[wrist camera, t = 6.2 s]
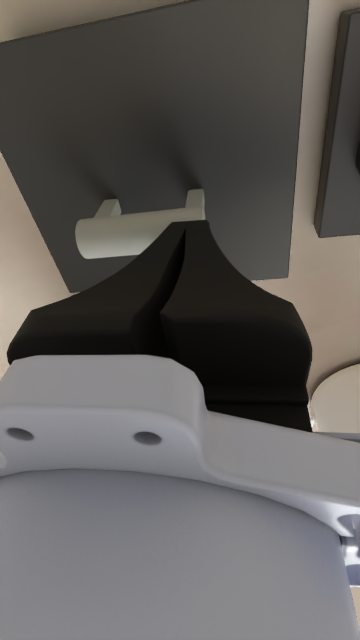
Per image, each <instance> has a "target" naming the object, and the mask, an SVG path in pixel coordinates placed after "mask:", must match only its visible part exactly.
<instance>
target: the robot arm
mask: <svg viewBox="0 0 360 640" xmlns="http://www.w3.org/2000/svg"><path fill="white" fill-rule="evenodd" d="M7 358H8V363H9V364H10V367H9V368H8V370H7V371H6V373H5V374H4V376H3V378H2V379H1V381H0V640H360V630H359V626H358V621H357V616H356V612H355V607H354V602H353V598H352V593H351V589H350V587H360V433H338V432H312V427H311V422H310V417H309V412H308V408H307V405H308V402H309V397H308V393H307V388H306V383H307V379H308V375H309V370H310V366H311V362H312V346H311V342H310V339H309V336H308V333H307V331H306V329H305V326H304V324H303V322H302V320H301V318H300V316H299V314H298V312H297V311H296V309H295V307H294V305H293V304H292V303H291V302H288V301H286V300H284V299H282V298H279V297H277V296H275V295H273V294H270V293H268V292H267V291H265V290H263V289H262V288H260V287H258V286H257V285H255V284H254V283H252V282H251V281H250V280H248V279H247V278H246V277H244V276H243V275H242V274H241V273H240V272H239V271H238V270H237V269H236V268H235V267H234V266H233V265H232V264H231V263H230V261H229V260H228V259H227V258H226V256H225V255H224V254H223V252H222V251H221V249H220V248H219V246H218V244H217V242H216V241H215V239H214V237H213V234H212V232H211V229H210V222H208V221H207V220H194V221H179V222H171V223H170V224H169V225H168V226H167V227H166V229H165V230H164V231H163V232H162V233H161V234H160V235H159V236H158V237H157V238H156V239H155V240H154V241H153V242H152V243H151V244H150V245H149V246H148V247H147V248H146V249H145V250H144V251H143V252H142V253H141V254H139V255H138V256H137V257H136V258H135V259H134V260H133V261H131V262H130V263H129V264H128V265H126V266H125V267H123V268H122V269H121V270H119V271H118V272H116V273H115V274H113V275H112V276H110V277H108V278H106V279H105V280H103V281H101V282H99V283H98V284H96V285H94V286H92V287H90V288H88V289H86V290H84V291H82V292H80V293H78V294H75V295H73V296H71V297H68V298H66V299H63V300H61V301H58V302H55V303H52V304H49V305H46V306H43V307H40V308H37V309H34V310H31V312H30V313H29V314H28V316H27V318H26V319H25V321H24V322H23V324H22V326H21V327H20V329H19V330H18V332H17V334H16V335H15V337H14V338H13V340H12V342H11V343H10V345H9V348H8V351H7Z"/></svg>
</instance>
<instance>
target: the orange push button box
mask: <svg viewBox="0 0 360 640" xmlns="http://www.w3.org/2000/svg"><path fill="white" fill-rule="evenodd" d="M314 227H315V230H316V232H317V235H318V237H319V238H326V237H337V236H349V235H360V8H359V9H354V10H349V11H344V12H342V13H341V15H340V23H339V31H338V39H337V47H336V55H335V63H334V71H333V79H332V87H331V95H330V103H329V111H328V119H327V127H326V135H325V143H324V150H323V158H322V166H321V174H320V182H319V190H318V198H317V206H316V214H315V222H314Z"/></svg>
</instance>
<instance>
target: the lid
mask: <svg viewBox="0 0 360 640" xmlns="http://www.w3.org/2000/svg"><path fill="white" fill-rule="evenodd" d="M308 10H309V0H189V1H185V2H180V3H176V4H171V5H167V6H162V7H158V8H153V9H149V10H144V11H140V12H135V13H131V14H126V15H122V16H117V17H113V18H108V19H104V20H99V21H95V22H90V23H86V24H81V25H77V26H72V27H68V28H63V29H59V30H54V31H50V32H45V33H41V34H36V35H32V36H27V37H23V38H18V39H14V40H9V41H5V42H0V151H1V153H2V155H3V157H4V159H5V161H6V163H7V165H8V167H9V169H10V171H11V173H12V175H13V177H14V179H15V181H16V183H17V185H18V187H19V189H20V192H21V194H22V196H23V198H24V200H25V202H26V204H27V206H28V208H29V210H30V212H31V214H32V216H33V218H34V220H35V222H36V224H37V226H38V228H39V230H40V232H41V235H42V237H43V239H44V241H45V243H46V245H47V247H48V249H49V251H50V253H51V255H52V257H53V259H54V261H55V263H56V265H57V267H58V269H59V271H60V273H61V275H62V277H63V280H64V282H65V284H66V286H67V288H68V290H69V292H70V293H75V292H82V291H84V290H86V289H88V288H90V287H92V286H94V285H96V284H98V283H99V282H101V281H103V280H105V279H106V278H108V277H110V276H112V275H113V274H115V273H116V272H118V271H119V270H121V269H122V268H123V267H125V266H126V265H128V264H129V263H130V262H131V261H133V260H134V259H135V258H136V257H137V256H138V255H139V254H141V253H142V252H143V251H144V250H145V249H146V248H147V247H148V246H149V245H150V244H151V243H152V242H153V241H154V240H155V239H156V238H157V237H158V236H159V235H160V234H161V233H162V232H163V231H164V230H165V229H166V227H167V226H168V225H169V224H170V223H171V222H179V221H194V220H207V221H208V222H210V229H211V232H212V234H213V237H214V239H215V241H216V242H217V244H218V246H219V248H220V249H221V251H222V252H223V254H224V255H225V256H226V258H227V259H228V260H229V261H230V263H231V264H232V265H233V266H234V267H235V268H236V269H237V270H238V271H239V272H240V273H241V274H242V275H243V276H244V277H246V278H247V279H248V280H265V279H279V278H288V271H289V258H290V245H291V232H292V219H293V206H294V193H295V180H296V167H297V154H298V141H299V128H300V114H301V101H302V88H303V75H304V62H305V49H306V36H307V23H308Z"/></svg>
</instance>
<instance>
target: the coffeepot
mask: <svg viewBox="0 0 360 640" xmlns="http://www.w3.org/2000/svg"><path fill="white" fill-rule="evenodd" d="M310 412H311V416H312V418H311V419H310V422H311V427H313V426H314V424H315V422H316V425H317V428H318V432H338V433H360V364H357V365H353V366H350V367H347V368H345V369H342V370H340V371H338V372H336V373H334V374H333V375H331V376H329V377H328V378H327V379H325V380H324V381H323V382H322V383H321V384H320V385H319V386H318V387H317V389H316V390H315V392H314V394H313V397H312V401H311V406H310Z"/></svg>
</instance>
